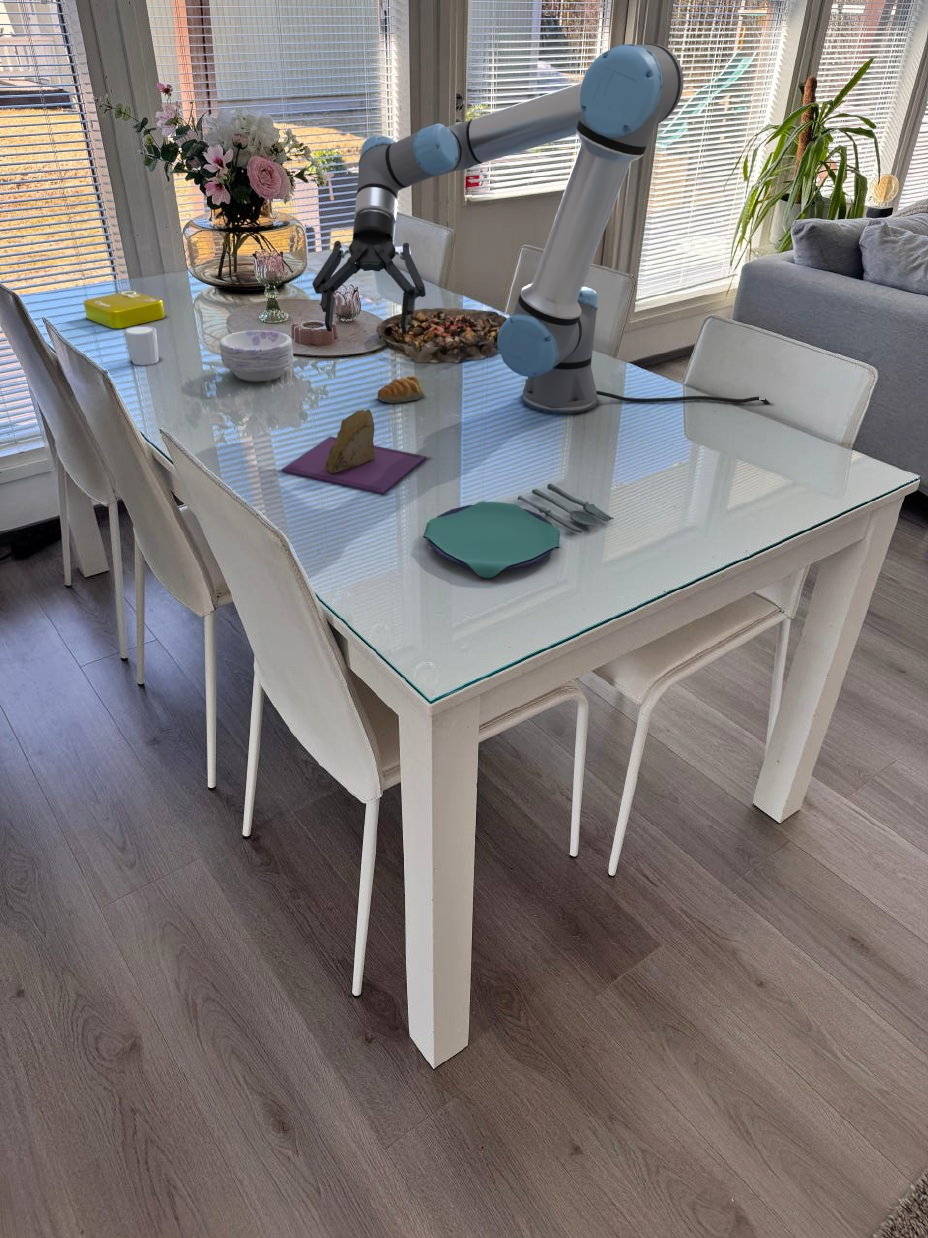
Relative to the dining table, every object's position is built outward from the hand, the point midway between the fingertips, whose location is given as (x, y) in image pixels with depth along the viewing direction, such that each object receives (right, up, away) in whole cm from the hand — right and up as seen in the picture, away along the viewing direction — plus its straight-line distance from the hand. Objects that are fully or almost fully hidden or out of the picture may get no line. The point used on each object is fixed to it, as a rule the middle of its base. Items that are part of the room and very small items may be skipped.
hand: (365, 328), depth 159 cm
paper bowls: (-27, +1, +36) cm, 45 cm away
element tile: (-69, +25, +69) cm, 101 cm away
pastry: (+5, -6, +26) cm, 27 cm away
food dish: (+13, +16, +58) cm, 62 cm away
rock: (-3, -24, -2) cm, 25 cm away
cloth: (-2, -25, -1) cm, 25 cm away
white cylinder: (-54, +6, +42) cm, 69 cm away
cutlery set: (+26, -39, -21) cm, 51 cm away
